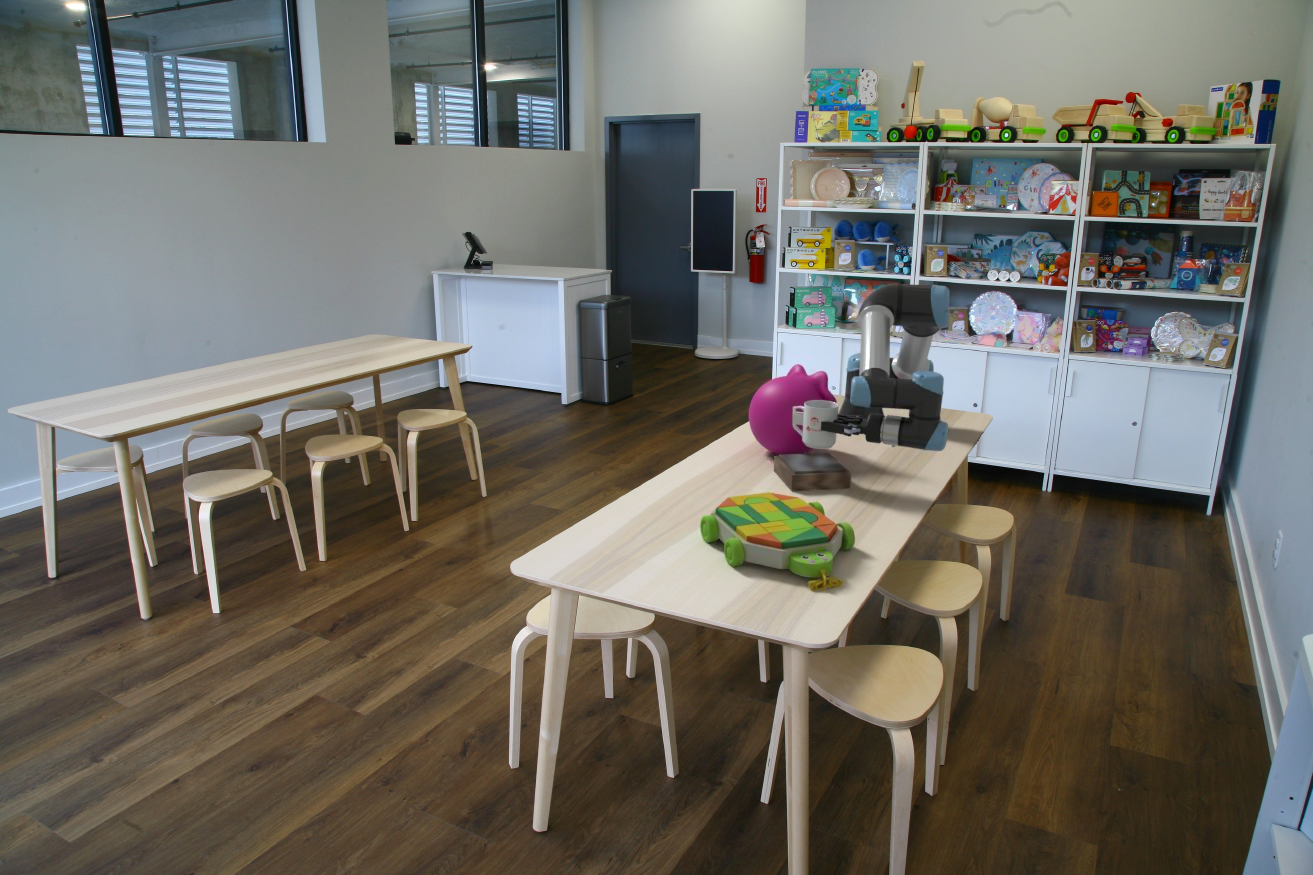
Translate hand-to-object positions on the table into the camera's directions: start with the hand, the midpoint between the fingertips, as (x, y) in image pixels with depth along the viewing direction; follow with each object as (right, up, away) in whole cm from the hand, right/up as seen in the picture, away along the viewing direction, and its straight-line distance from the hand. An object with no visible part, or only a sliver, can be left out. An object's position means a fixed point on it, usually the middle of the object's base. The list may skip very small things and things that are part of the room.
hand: (794, 417), depth 227 cm
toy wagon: (-10, -30, -39) cm, 50 cm away
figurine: (+2, -10, +25) cm, 27 cm away
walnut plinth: (+5, -17, +3) cm, 17 cm away
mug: (+5, -7, -1) cm, 9 cm away
